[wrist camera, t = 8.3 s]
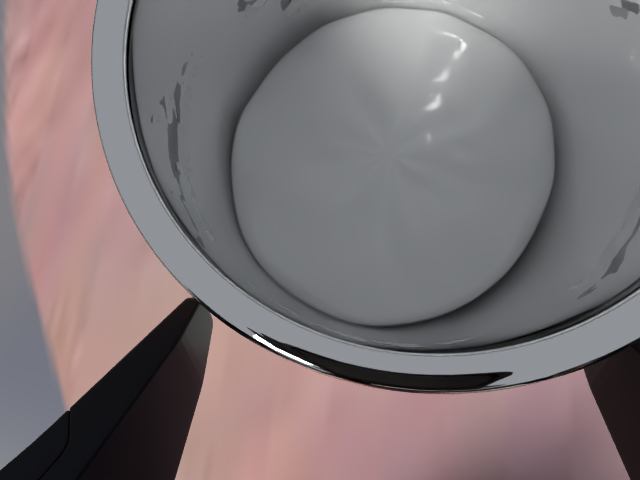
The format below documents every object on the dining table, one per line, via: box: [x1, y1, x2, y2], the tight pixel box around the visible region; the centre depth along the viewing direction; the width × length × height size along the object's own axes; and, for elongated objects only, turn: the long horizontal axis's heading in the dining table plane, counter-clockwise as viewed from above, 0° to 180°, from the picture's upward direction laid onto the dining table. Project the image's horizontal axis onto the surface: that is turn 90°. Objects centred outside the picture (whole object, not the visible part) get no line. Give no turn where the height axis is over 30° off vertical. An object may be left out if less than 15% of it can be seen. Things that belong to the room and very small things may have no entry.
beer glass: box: [91, 0, 640, 394], centre depth 11 cm, size 7×7×15 cm
